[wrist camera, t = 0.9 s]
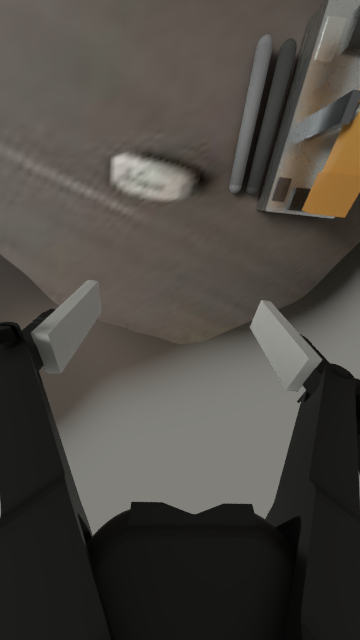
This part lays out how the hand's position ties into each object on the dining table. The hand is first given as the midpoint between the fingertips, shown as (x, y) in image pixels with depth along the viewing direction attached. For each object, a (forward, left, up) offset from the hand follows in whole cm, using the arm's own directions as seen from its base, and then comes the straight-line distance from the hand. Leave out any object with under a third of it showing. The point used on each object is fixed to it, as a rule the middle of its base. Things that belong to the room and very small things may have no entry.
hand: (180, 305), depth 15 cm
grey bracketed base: (-17, +20, -26) cm, 37 cm away
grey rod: (-17, +9, -26) cm, 32 cm away
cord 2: (-17, +12, -26) cm, 33 cm away
